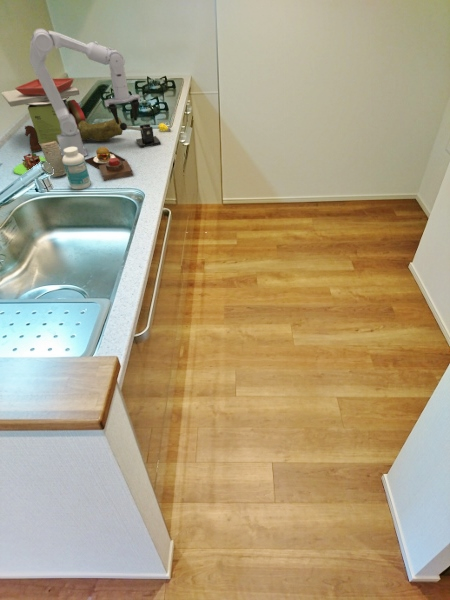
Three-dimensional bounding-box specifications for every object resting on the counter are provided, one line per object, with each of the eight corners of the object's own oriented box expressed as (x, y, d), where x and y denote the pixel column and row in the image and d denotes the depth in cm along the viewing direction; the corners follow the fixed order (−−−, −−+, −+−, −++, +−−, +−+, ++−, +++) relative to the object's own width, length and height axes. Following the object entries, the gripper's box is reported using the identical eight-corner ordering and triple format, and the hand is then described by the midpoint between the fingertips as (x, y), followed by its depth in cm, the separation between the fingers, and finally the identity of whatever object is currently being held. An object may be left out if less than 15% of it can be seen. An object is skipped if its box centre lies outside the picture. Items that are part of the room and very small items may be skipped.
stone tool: (81, 133, 183) (79, 147, 177) (74, 115, 175) (72, 129, 170) (125, 130, 184) (125, 143, 179) (121, 112, 176) (120, 125, 171)
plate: (62, 107, 165) (61, 103, 164) (12, 108, 165) (10, 104, 164) (76, 94, 181) (75, 90, 180) (30, 95, 181) (29, 91, 180)
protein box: (74, 140, 180) (64, 104, 170) (39, 144, 178) (26, 107, 167) (76, 133, 188) (66, 97, 177) (42, 136, 185) (30, 100, 175)
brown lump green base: (35, 178, 152) (29, 163, 147) (8, 171, 157) (1, 156, 153) (63, 163, 161) (59, 148, 157) (37, 157, 167) (31, 142, 162)
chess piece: (29, 151, 172) (19, 127, 167) (39, 148, 175) (30, 123, 170) (34, 152, 170) (24, 127, 164) (45, 148, 173) (35, 124, 167)
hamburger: (110, 152, 169) (107, 139, 165) (125, 160, 162) (122, 147, 159) (84, 160, 163) (81, 147, 160) (99, 169, 157) (95, 155, 153)
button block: (104, 181, 149) (101, 170, 146) (99, 170, 156) (97, 160, 153) (133, 175, 152) (131, 165, 149) (127, 165, 159) (125, 155, 156)
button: (110, 166, 150) (109, 162, 148) (108, 163, 152) (107, 158, 151) (120, 165, 150) (119, 160, 149) (118, 161, 153) (117, 157, 152)
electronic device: (10, 107, 162) (9, 101, 160) (1, 94, 174) (-1, 89, 173) (80, 94, 173) (79, 89, 171) (66, 83, 185) (65, 79, 184)
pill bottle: (72, 181, 149) (61, 145, 140) (92, 180, 149) (83, 144, 140) (68, 190, 143) (57, 153, 134) (89, 189, 144) (79, 152, 135)
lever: (120, 130, 167) (120, 123, 165) (118, 128, 169) (119, 121, 167) (150, 135, 173) (151, 128, 171) (148, 133, 175) (149, 126, 173)
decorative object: (81, 139, 184) (70, 127, 192) (89, 137, 185) (77, 126, 194) (74, 109, 174) (62, 98, 182) (82, 107, 175) (70, 96, 184)
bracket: (140, 148, 172) (137, 130, 167) (136, 141, 178) (133, 124, 173) (160, 144, 174) (158, 127, 170) (156, 138, 180) (153, 121, 175)
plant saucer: (16, 96, 165) (13, 87, 163) (38, 86, 179) (36, 78, 176) (57, 96, 162) (54, 87, 160) (76, 86, 176) (74, 78, 174)
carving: (51, 178, 149) (39, 144, 144) (50, 176, 155) (39, 143, 150) (68, 174, 151) (57, 141, 146) (67, 172, 157) (56, 140, 152)
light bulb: (156, 130, 186) (159, 127, 188) (169, 135, 186) (171, 132, 189) (157, 123, 184) (160, 120, 186) (170, 128, 184) (172, 125, 186)
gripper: (105, 90, 153) (112, 127, 162) (140, 85, 158) (146, 120, 167) (99, 86, 158) (107, 122, 167) (134, 81, 163) (140, 116, 172)
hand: (126, 121), depth 167 cm, fingers open, 7 cm apart
